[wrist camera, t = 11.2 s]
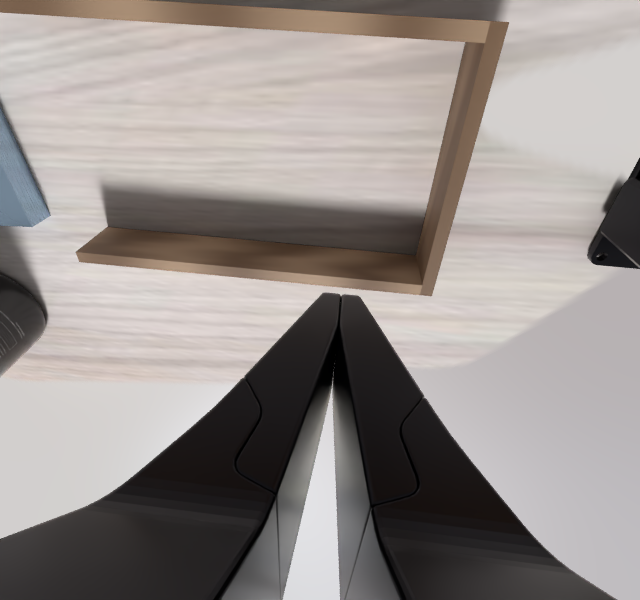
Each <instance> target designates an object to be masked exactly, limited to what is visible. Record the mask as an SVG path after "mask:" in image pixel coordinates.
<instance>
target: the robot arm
mask: <svg viewBox="0 0 640 600" xmlns="http://www.w3.org/2000/svg"><path fill="white" fill-rule="evenodd" d="M600 253H603V254H602V255H601V256H599V257H597V255H598V254H600ZM587 256H588V259H589V260H590V261H591V262H592V263H593V264H595V265H603V266H614V267H625V268H636V269H640V158H639V160H638V162H637V164H636V166H635V167H634V169H633V171H632V173H631V175H630V176H629V178H628V180H627V181H626V182H625V183H624V185H623V187H622V188H621V190H620V192H619V194H618V196H617V198H616V200H615V201H614V203H613V205H612V207H611V209H610V211H609V212H608V214H607V216H606V218H605V220H604V222H603V223H602V225H601V227H600V231H599V233H598V235H597V237H596V239H595V241H594V242H593V244H592V246H591V248H590V250H589V252H588V254H587ZM340 302H341V303H340ZM334 363H335V364H334ZM333 372H334V374H333ZM332 381H333V420H334V446H335V473H336V496H337V497H336V499H337V526H338V553H339V579H340V600H617V599H615V598H613V597H612V596H610V595H609V594H607V593H606V592H604V591H603V590H601V589H599V588H598V587H596V586H595V585H593V584H592V583H590V582H589V581H587V580H585V579H584V578H582V577H581V576H579V575H578V574H576V573H575V572H573V571H572V570H570V569H569V568H568V567H566V566H565V565H564V564H563V563H561V562H560V561H559V560H557V558H555V557H554V556H553V555H552V554H551V553H550V552H549V551H548V550H547V549H545V548H544V547H543V546H542V545H541V544H540V543H539V542H538V540H536V538H535V537H534V536H533V535H532V534H531V533H530V532H529V531H528V530H527V528H526V527H525V526H524V525H523V524H522V522H521V521H520V520H519V519H518V518H517V516H516V515H515V514H514V513H513V512H512V510H511V509H510V508H509V507H508V505H507V504H506V503H505V502H504V500H503V499H502V498H501V497H500V496H499V495H498V493H497V492H496V491H495V490H494V488H493V487H492V486H491V485H490V483H489V482H488V481H487V480H486V479H485V477H484V476H483V475H482V474H481V472H480V471H479V470H478V469H477V468H476V466H475V465H474V464H473V463H472V462H471V460H470V459H469V458H468V456H467V455H466V454H465V452H464V451H463V450H462V449H461V448H460V447H459V445H458V443H457V442H456V441H455V440H454V438H453V437H452V436H451V435H450V433H449V432H448V430H447V429H446V427H445V426H444V424H443V423H442V421H441V420H440V419H439V417H438V416H437V414H436V413H435V411H434V410H433V408H432V407H431V405H430V404H429V402H428V401H427V399H426V398H424V395H423V393H422V392H421V390H420V388H419V387H418V385H417V384H416V382H415V381H414V379H413V378H412V376H411V375H410V373H409V371H408V370H407V368H406V367H405V365H404V364H403V362H402V361H401V359H400V358H399V356H398V355H397V353H396V352H395V350H394V348H393V347H392V345H391V344H390V342H389V341H388V339H387V338H386V336H385V335H384V333H383V332H382V330H381V328H380V327H379V325H378V324H377V322H376V321H375V319H374V318H373V316H372V315H371V313H370V312H369V310H368V308H367V307H366V305H365V304H364V302H363V301H362V299H361V298H360V297H359V296H356V295H345V294H344V295H342V296H340V294H335V293H322V294H321V295H320V297H319V298H318V299H317V300H316V301H315V302H314V303H313V304H312V305H311V306H310V307H309V308H308V309H307V310H306V311H305V312H304V314H303V315H302V316H301V317H300V318H299V319H298V320H297V321H296V322H295V323H294V324H293V325H292V326H291V327H290V328H289V329H288V330H287V332H286V333H285V334H284V335H283V336H282V337H281V338H280V339H279V340H278V341H277V342H276V343H275V344H274V345H273V346H272V347H271V349H270V350H269V351H268V352H267V353H266V354H265V355H264V356H263V357H262V358H261V359H260V360H259V361H258V362H257V363H256V364H255V366H254V367H253V368H252V369H251V370H250V371H249V372H248V373H247V374H246V375H245V377H244V378H242V379H241V380H240V381H239V382H238V383H237V384H236V385H235V387H234V388H233V389H232V390H231V391H230V392H229V393H228V394H227V395H226V396H225V397H224V398H223V399H222V400H221V401H220V402H219V403H218V404H217V405H216V406H215V407H214V408H213V409H212V410H210V412H208V413H207V414H206V415H205V416H203V417H202V418H201V419H200V420H199V421H198V422H197V423H196V424H194V425H193V426H192V427H191V428H190V429H189V430H187V431H186V432H185V433H184V434H183V435H182V436H181V437H179V438H178V439H177V440H176V441H174V442H173V443H172V444H171V445H170V446H169V447H167V448H166V449H165V450H164V451H163V452H161V453H160V454H159V455H158V456H157V457H155V458H154V459H153V460H152V461H151V462H149V463H148V464H147V465H146V466H145V467H144V468H142V469H141V470H140V471H139V472H138V473H136V474H135V475H134V476H133V477H131V478H130V479H129V480H128V481H126V482H125V483H124V484H123V485H121V486H120V487H118V488H117V489H115V490H114V491H113V492H111V493H109V494H108V495H106V496H104V497H103V498H101V499H100V500H98V501H96V502H94V503H92V504H90V505H88V506H86V507H83V508H81V509H78V510H75V511H73V512H70V513H68V514H65V515H62V516H60V517H57V518H54V519H52V520H49V521H46V522H44V523H41V524H38V525H36V526H33V527H30V528H28V529H25V530H23V531H20V532H17V533H15V534H12V535H9V536H7V537H4V538H1V539H0V600H282V599H283V595H284V591H285V586H286V582H287V578H288V573H289V569H290V565H291V560H292V556H293V552H294V547H295V544H296V539H297V535H298V530H299V526H300V522H301V518H302V513H303V509H304V505H305V500H306V496H307V492H308V488H309V483H310V479H311V475H312V470H313V466H314V462H315V458H316V454H317V449H318V445H319V441H320V436H321V432H322V428H323V423H324V419H325V415H326V411H327V406H328V402H329V398H330V393H331V388H332Z"/></svg>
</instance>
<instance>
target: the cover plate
mask: <svg viewBox="0 0 640 600" xmlns="http://www.w3.org/2000/svg"><path fill="white" fill-rule="evenodd" d="M49 216H51V215H50V213H49V211H48V209H47V207H46V204H45V202H44V200H43V198H42V196H41V194H40V191H39V189H38V187H37V185H36V183H35V181H34V178H33V176H32V174H31V172H30V170H29V168H28V165H27V163H26V161H25V159H24V157H23V155H22V153H21V150H20V148H19V146H18V144H17V142H16V140H15V137H14V135H13V133H12V131H11V129H10V127H9V124H8V122H7V120H6V118H5V116H4V114H3V111H2V109H1V107H0V226H23V227H33V226H34V225H36V224H38V223H39V222H41V221H43V220H44V219H46V218H47V217H49Z"/></svg>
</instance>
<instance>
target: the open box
mask: <svg viewBox="0 0 640 600" xmlns="http://www.w3.org/2000/svg"><path fill="white" fill-rule="evenodd" d="M0 12H2V13H18V14H34V15H50V16H66V17H81V18H97V19H113V20H129V21H144V22H160V23H176V24H192V25H207V26H223V27H239V28H255V29H271V30H286V31H302V32H318V33H334V34H349V35H365V36H381V37H397V38H412V39H428V40H444V41H460V42H466V43H465V47H464V51H463V55H462V60H461V64H460V68H459V73H458V77H457V81H456V86H455V90H454V94H453V98H452V103H451V107H450V111H449V116H448V120H447V124H446V128H445V133H444V137H443V141H442V146H441V150H440V154H439V159H438V163H437V167H436V171H435V176H434V180H433V184H432V189H431V193H430V197H429V202H428V206H427V210H426V214H425V219H424V223H423V227H422V232H421V236H420V240H419V244H418V249H417V253H416V255H406V254H395V253H385V252H374V251H363V250H352V249H341V248H330V247H319V246H309V245H298V244H287V243H276V242H265V241H254V240H243V239H232V238H222V237H211V236H200V235H189V234H178V233H167V232H156V231H146V230H135V229H124V228H113V227H107V228H105V229H104V230H103V231H102V232H100V233H99V234H98V235H97V236H95V237H94V238H93V239H92V240H90V241H89V242H88V243H87V244H85V245H84V246H83V247H81V248H80V249H79V250H78V251H76V254H77V257H78V259H79V262H85V263H96V264H106V265H116V266H126V267H137V268H147V269H157V270H167V271H178V272H188V273H198V274H209V275H219V276H229V277H239V278H250V279H260V280H270V281H281V282H291V283H301V284H311V285H322V286H332V287H342V288H353V289H363V290H373V291H383V292H394V293H404V294H414V295H424V296H432V293H433V290H434V286H435V283H436V279H437V276H438V272H439V269H440V265H441V261H442V258H443V254H444V251H445V247H446V244H447V240H448V237H449V233H450V230H451V226H452V223H453V219H454V215H455V212H456V208H457V205H458V201H459V198H460V194H461V191H462V187H463V184H464V180H465V177H466V173H467V170H468V166H469V162H470V159H471V155H472V152H473V148H474V145H475V141H476V138H477V134H478V131H479V127H480V124H481V120H482V117H483V113H484V109H485V106H486V102H487V99H488V95H489V92H490V88H491V85H492V81H493V78H494V74H495V71H496V67H497V63H498V60H499V56H500V53H501V49H502V46H503V42H504V39H505V35H506V32H507V28H508V25H509V22H497V21H481V20H464V19H448V18H431V17H415V16H398V15H382V14H365V13H349V12H332V11H316V10H299V9H282V8H266V7H249V6H233V5H216V4H200V3H183V2H167V1H150V0H0Z"/></svg>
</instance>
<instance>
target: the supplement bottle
mask: <svg viewBox="0 0 640 600" xmlns="http://www.w3.org/2000/svg"><path fill="white" fill-rule="evenodd" d="M44 330H45V317H44V314H43V311H42V309H41V307H40V306H39V304H38V303H37V301H36V300H35V299H34V298H33V297H32V296H31V295H30V294H29V293H28V292H27V291H26V290H25V289H24V288H23V287H21V286H20V285H19V284H17V283H16V282H14V281H13V280H11V279H9V278H8V277H6V276H4V275H2V274H0V377H1V376H2V375H3V374H4V373H5V372H6V371H7V370H8V369H9V368H10V367H11V366H12V365H13V364H14V363H15V362H16V361H17V360H18V359H19V358H20V357H21V356H22V355H23V354H25V353H26V352H27V351H28V350H29V349H30V348H31V347H32V346H33V345H34V344H35V343H36V342H37V341H38V340H39V339H40V337H41V336H42V335H43V333H44Z"/></svg>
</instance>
